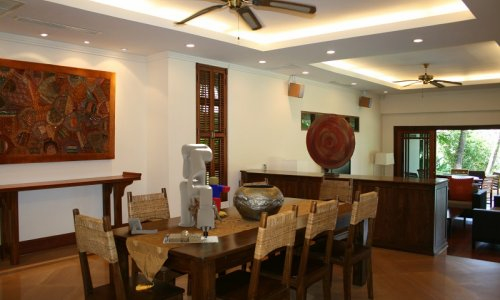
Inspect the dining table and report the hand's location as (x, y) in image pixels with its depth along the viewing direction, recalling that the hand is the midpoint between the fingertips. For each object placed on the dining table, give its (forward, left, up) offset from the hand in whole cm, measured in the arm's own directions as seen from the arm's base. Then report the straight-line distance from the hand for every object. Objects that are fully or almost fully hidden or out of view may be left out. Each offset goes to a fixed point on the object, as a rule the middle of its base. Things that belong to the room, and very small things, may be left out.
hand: (205, 237), depth 253 cm
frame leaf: (0, -17, -1) cm, 17 cm away
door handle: (-24, -40, -2) cm, 47 cm away
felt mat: (0, -9, -1) cm, 9 cm away
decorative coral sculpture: (-43, 0, -2) cm, 43 cm away
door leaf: (0, -8, -1) cm, 8 cm away
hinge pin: (0, -23, -1) cm, 23 cm away
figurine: (-85, +8, -2) cm, 85 cm away
